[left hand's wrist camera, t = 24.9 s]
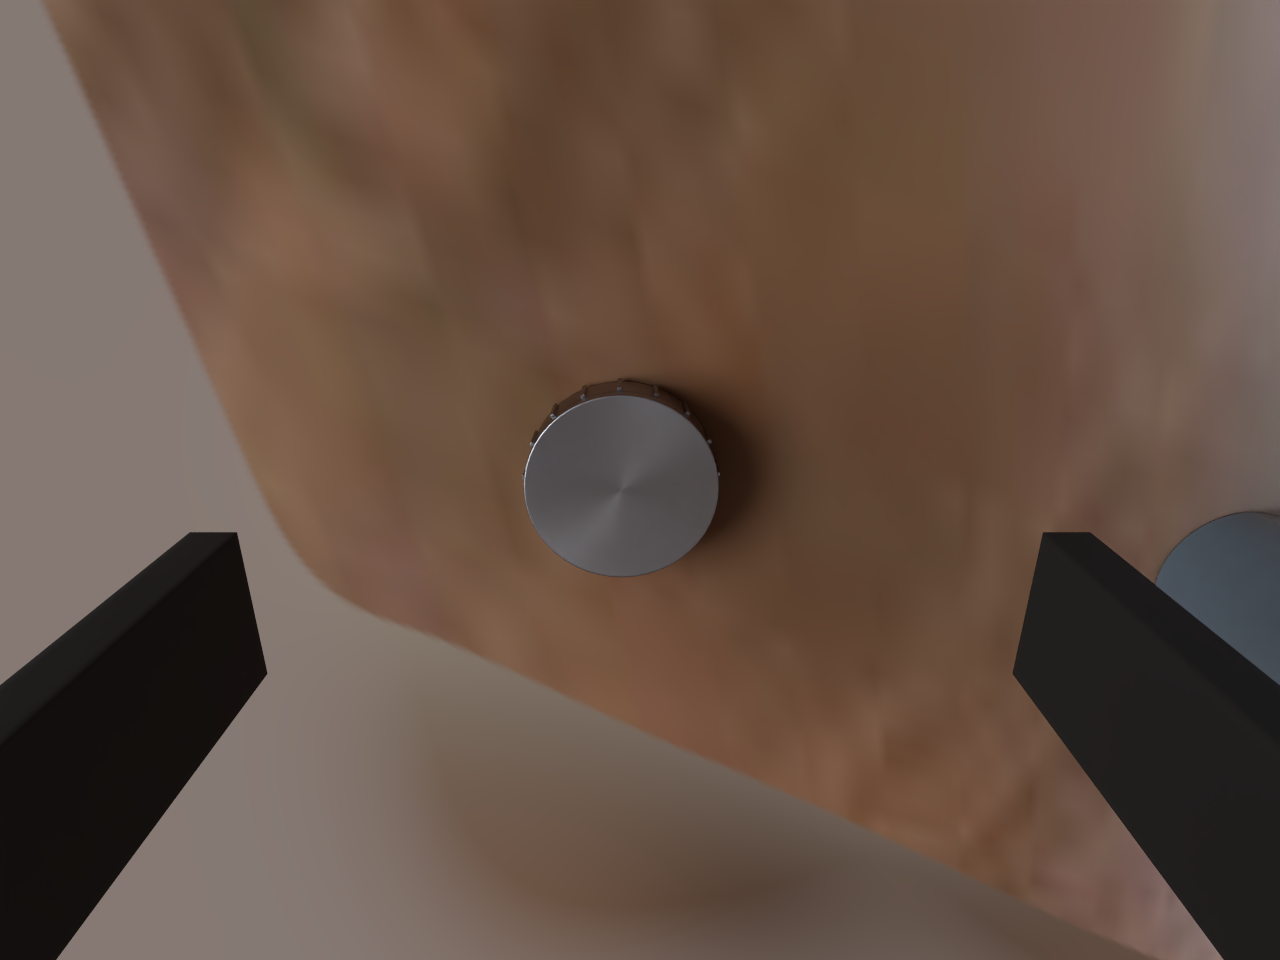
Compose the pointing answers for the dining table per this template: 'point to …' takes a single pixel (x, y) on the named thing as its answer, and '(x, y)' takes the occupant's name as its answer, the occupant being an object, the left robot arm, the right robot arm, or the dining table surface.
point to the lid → (621, 479)
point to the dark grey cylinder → (1232, 583)
